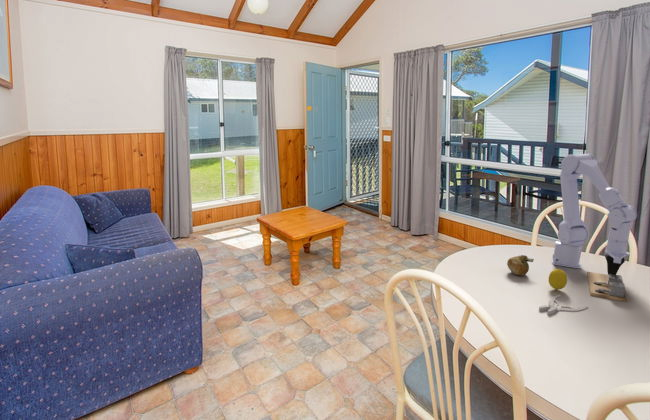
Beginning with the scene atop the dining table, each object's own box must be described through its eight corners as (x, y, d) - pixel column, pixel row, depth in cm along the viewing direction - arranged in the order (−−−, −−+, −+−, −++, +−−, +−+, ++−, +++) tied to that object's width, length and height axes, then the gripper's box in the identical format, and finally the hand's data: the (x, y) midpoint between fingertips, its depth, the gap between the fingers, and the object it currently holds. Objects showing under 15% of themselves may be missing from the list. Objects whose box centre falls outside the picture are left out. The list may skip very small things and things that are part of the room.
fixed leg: (598, 292, 133) (600, 283, 132) (597, 288, 136) (599, 279, 135) (623, 297, 129) (625, 287, 129) (621, 292, 133) (623, 283, 132)
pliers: (589, 304, 125) (559, 316, 119) (588, 309, 126) (558, 320, 119) (558, 292, 134) (529, 302, 127) (558, 296, 134) (529, 306, 128)
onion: (517, 268, 157) (519, 249, 155) (533, 276, 149) (536, 256, 147) (501, 271, 155) (503, 251, 153) (517, 279, 147) (519, 259, 145)
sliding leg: (597, 285, 138) (598, 275, 138) (596, 281, 142) (597, 272, 141) (620, 289, 135) (622, 279, 134) (619, 285, 138) (621, 275, 137)
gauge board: (590, 295, 134) (591, 290, 134) (587, 274, 151) (587, 269, 150) (626, 301, 129) (627, 296, 129) (619, 279, 146) (620, 274, 145)
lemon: (559, 295, 134) (562, 273, 132) (543, 288, 139) (546, 267, 137) (568, 291, 137) (572, 269, 135) (553, 285, 142) (556, 264, 140)
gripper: (635, 247, 132) (627, 285, 136) (629, 235, 144) (622, 270, 148) (609, 244, 136) (602, 281, 139) (605, 232, 148) (599, 266, 151)
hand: (611, 275), depth 144 cm, fingers closed
